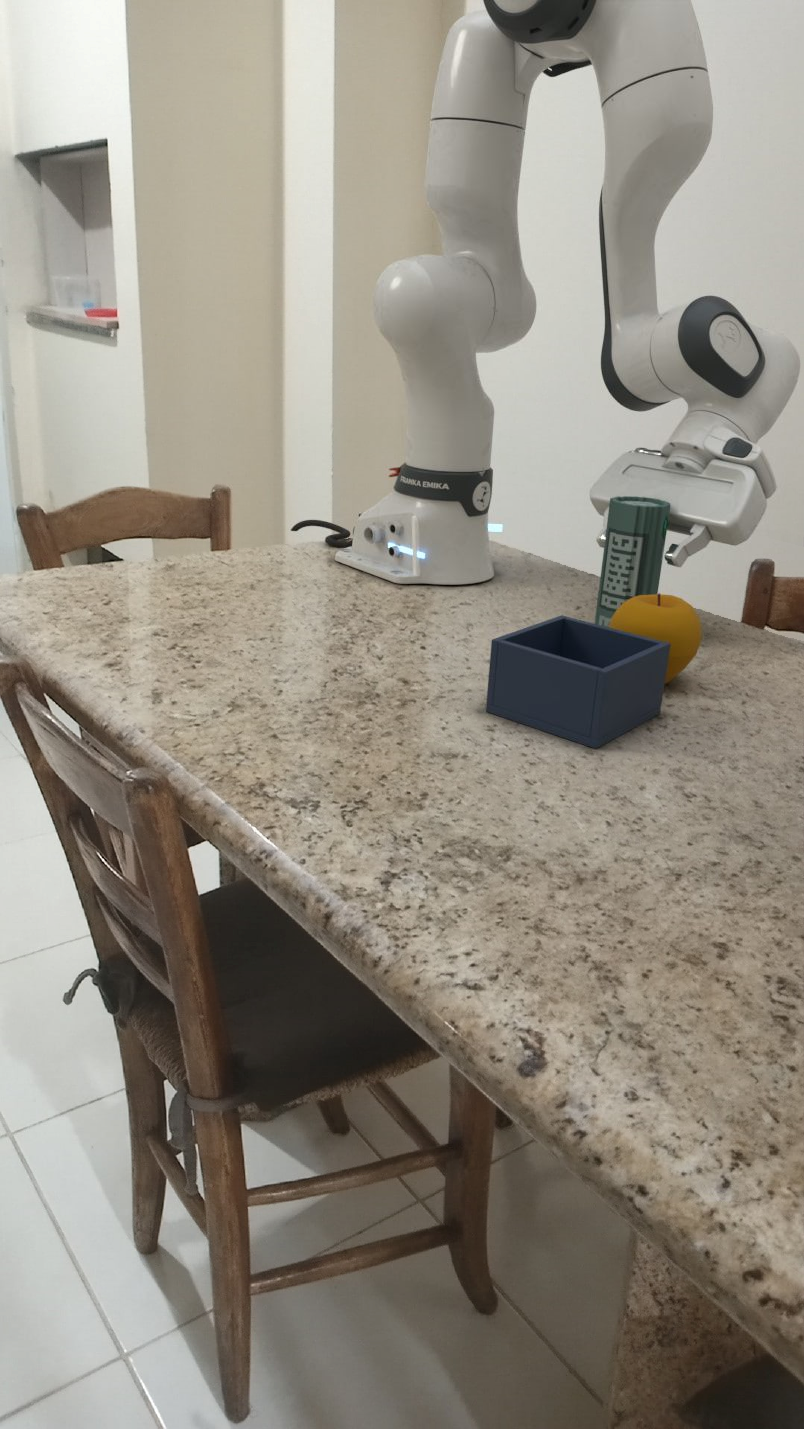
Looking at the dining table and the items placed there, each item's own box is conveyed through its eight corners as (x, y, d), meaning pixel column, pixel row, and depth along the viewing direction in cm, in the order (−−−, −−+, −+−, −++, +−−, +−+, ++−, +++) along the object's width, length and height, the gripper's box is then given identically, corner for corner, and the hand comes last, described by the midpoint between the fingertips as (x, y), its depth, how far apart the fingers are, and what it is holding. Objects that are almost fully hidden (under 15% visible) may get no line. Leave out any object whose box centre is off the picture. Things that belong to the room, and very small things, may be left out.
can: (658, 634, 116) (677, 502, 111) (636, 646, 112) (655, 509, 106) (609, 623, 120) (626, 494, 114) (585, 634, 115) (602, 500, 109)
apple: (636, 659, 107) (647, 576, 104) (712, 683, 102) (727, 596, 98) (585, 677, 102) (595, 589, 98) (663, 703, 96) (677, 611, 92)
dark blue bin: (485, 711, 92) (491, 639, 89) (554, 681, 100) (561, 615, 97) (596, 749, 85) (606, 672, 83) (660, 714, 93) (671, 643, 91)
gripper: (619, 427, 120) (554, 518, 118) (775, 450, 105) (704, 554, 103) (638, 464, 124) (576, 552, 122) (790, 491, 110) (723, 591, 108)
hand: (636, 553), depth 112 cm, fingers open, 8 cm apart
